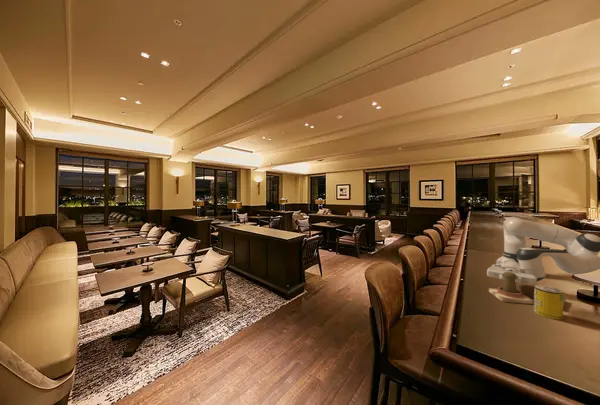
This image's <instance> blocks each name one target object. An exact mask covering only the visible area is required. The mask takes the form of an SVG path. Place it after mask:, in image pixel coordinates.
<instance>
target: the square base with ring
mask: <svg viewBox="0 0 600 405" xmlns="http://www.w3.org/2000/svg"><path fill="white" fill-rule="evenodd" d="M516 289H517V288H516ZM488 292H489V293H490V294H492V295H493V296H494V297H496V298H497V299H499V300H500V301H501V302H503V303H513V304H525V305H534V304H533V299H532V298H530V297H529V296H527V295H525V294H523V291H522V290H520V289H517V293H509V292H505V291H503V286H497V287H496V288H493V287H488Z"/></svg>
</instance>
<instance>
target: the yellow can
mask: <svg viewBox="0 0 600 405" xmlns="http://www.w3.org/2000/svg"><path fill="white" fill-rule="evenodd" d="M533 287H534V288H533V289H534V290H533V299H534V304H533V312H534V314H537V315H538V316H541V317H543V318H546V319H550V318H551V319H550V320H556V321H557V320H563V318H564V307H563V297H564V291H563V290H562V289H560V288H557V287H553V286H549V285H543V284H536V285H533Z"/></svg>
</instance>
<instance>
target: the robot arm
mask: <svg viewBox="0 0 600 405" xmlns="http://www.w3.org/2000/svg"><path fill="white" fill-rule="evenodd" d="M502 225H503V240H504V243H503V245H504V247H503V249H504V250H502V256H500V257H498V258H497V259H496V260H495V263H494V264H491V266H489V267H488V268H487V270H486V276H487V277H489V278H495V279H498V280H499V279H500V280H501V281H504V280H505V277H504V275H503V274H504V272H512V273H514V274H516V276H517V278H516V279H515V282H516V284H519V283H521V284H527V285H533V286H535V285H538V284H537V282H540V281H542V280H544V279H545V278H546V277H547V275H546V271H545V267H544V264H543V259H542V257H550V258H551V259H552V260H553V262H554V263H555V265H556V266H557V267H558V268H559V269H560V270H562V271H563V272H565V273H567V274H571V275H583V274H588V273H593V272H596V271H598V270H600V256H599V253H600V236H599V235H597V234H594V233H589V232H588V233H587V232H585V233H584V232H583V233H581V234H578V233H577V232H575V231H573V230H569V229H567V228H562V227H559V226H554V225H550V224H546V223H541V222H536V221H532V220H526V219H522V218H520V217H518V216H517V217H516V216H509V217H507V218H506V219H505V220H504V221H503V224H502ZM526 238H530V239H535V240H539V241H543V242H545V243H551V244H555V245H559V246H561V247H563V249H554V248H534V247H526V246H527V243H526V242H527V241H526Z"/></svg>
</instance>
